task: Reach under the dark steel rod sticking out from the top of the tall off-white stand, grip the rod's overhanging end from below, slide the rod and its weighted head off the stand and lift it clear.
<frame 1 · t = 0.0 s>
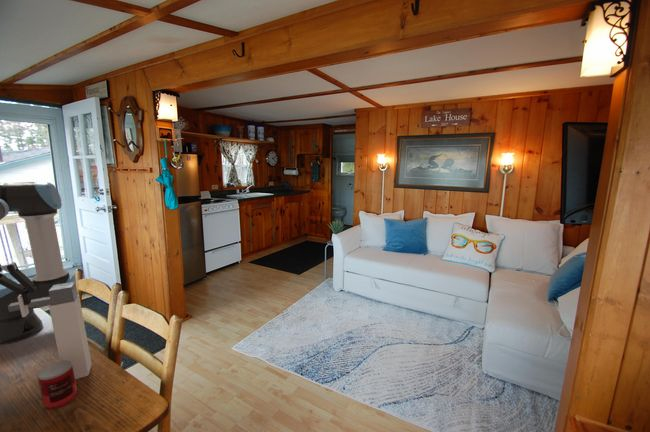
steel bar: (43, 304, 91), point 28 cm above the table, touching stand
stand: (78, 373, 99), on the table
canned food: (61, 399, 88), on the table
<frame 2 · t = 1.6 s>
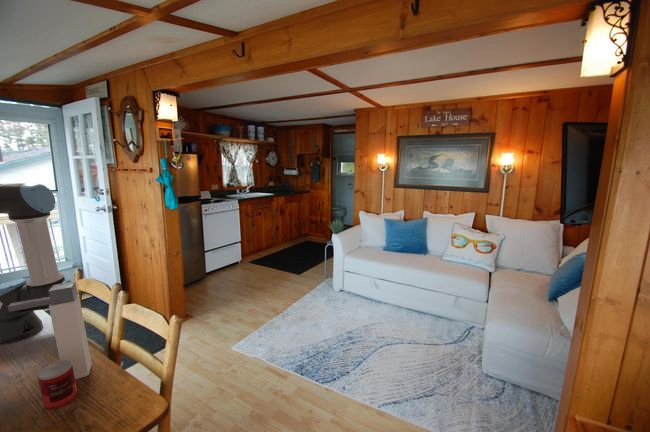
nothing on the table moved.
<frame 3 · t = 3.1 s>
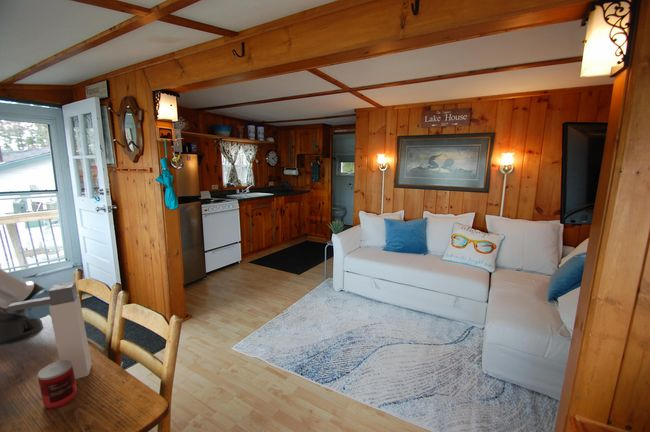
nothing on the table moved.
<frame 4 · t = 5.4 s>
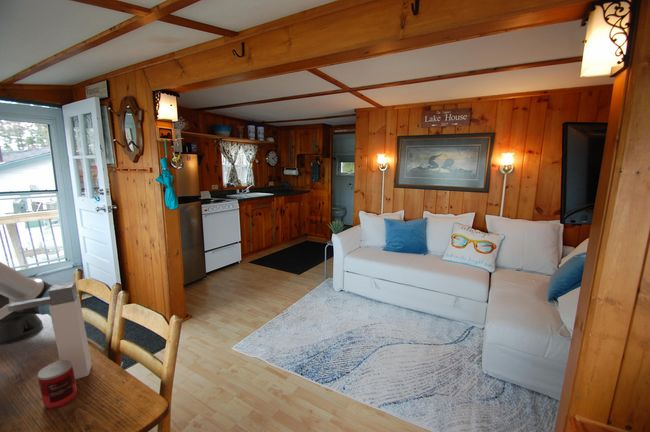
hand: (6, 314, 86), 27 cm above the table, tool pointing upward, fingers open, 13 cm apart
nothing on the table moved.
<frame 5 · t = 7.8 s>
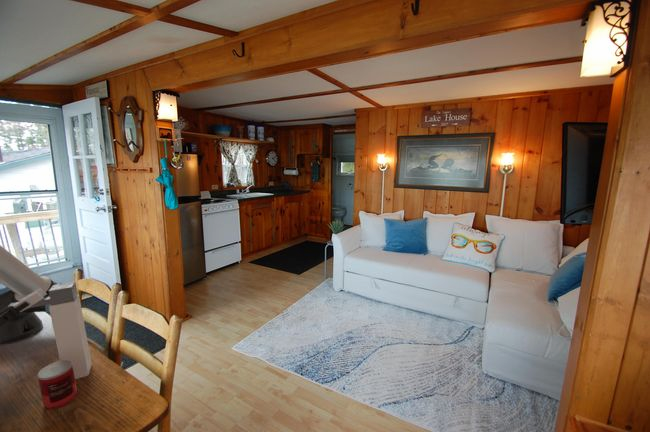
hand: (41, 293, 90), 32 cm above the table, tool pointing upward, fingers closed on steel bar, 2 cm apart
steel bar: (43, 304, 91), point 28 cm above the table, touching gripper, stand
everything else where it was.
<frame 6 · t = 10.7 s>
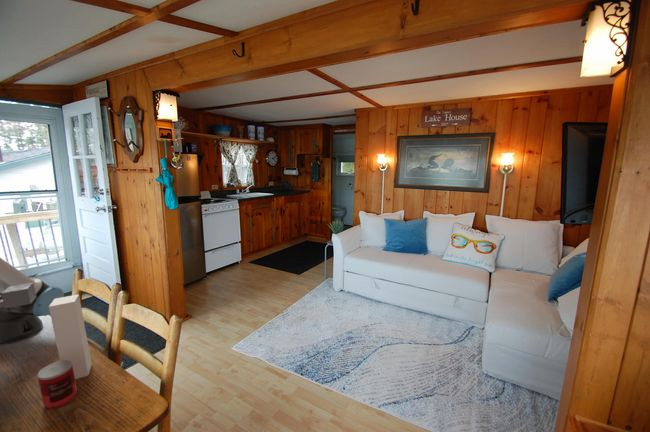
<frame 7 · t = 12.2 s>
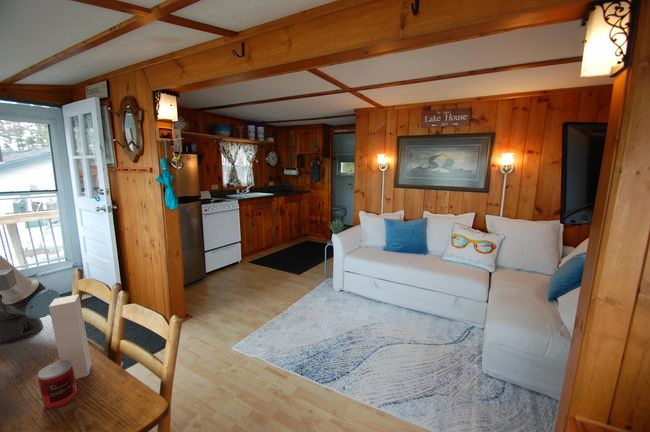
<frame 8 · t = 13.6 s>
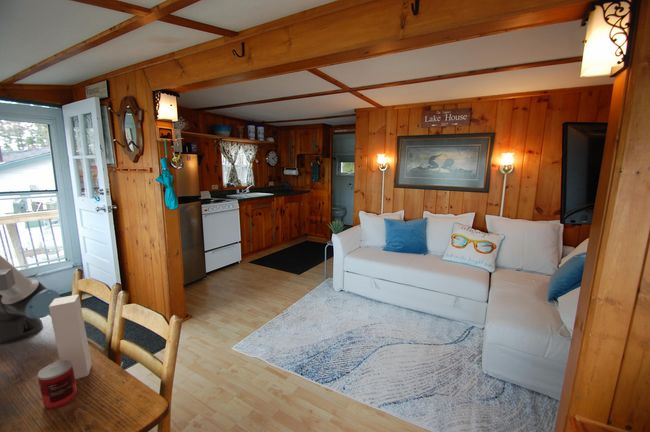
at the end: steel bar moved 16.5 cm from its start; steel bar touching gripper; steel bar point 35.0 cm above the table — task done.
